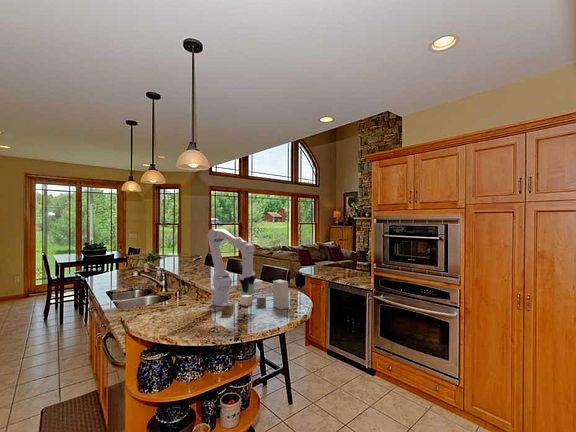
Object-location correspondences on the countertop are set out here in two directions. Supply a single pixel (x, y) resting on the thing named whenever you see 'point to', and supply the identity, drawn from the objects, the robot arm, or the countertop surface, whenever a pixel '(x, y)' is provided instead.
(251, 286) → the teal cube
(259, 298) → the charcoal cube
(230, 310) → the walnut cube
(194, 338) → the countertop surface
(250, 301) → the offwhite cube
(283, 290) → the skincare box
